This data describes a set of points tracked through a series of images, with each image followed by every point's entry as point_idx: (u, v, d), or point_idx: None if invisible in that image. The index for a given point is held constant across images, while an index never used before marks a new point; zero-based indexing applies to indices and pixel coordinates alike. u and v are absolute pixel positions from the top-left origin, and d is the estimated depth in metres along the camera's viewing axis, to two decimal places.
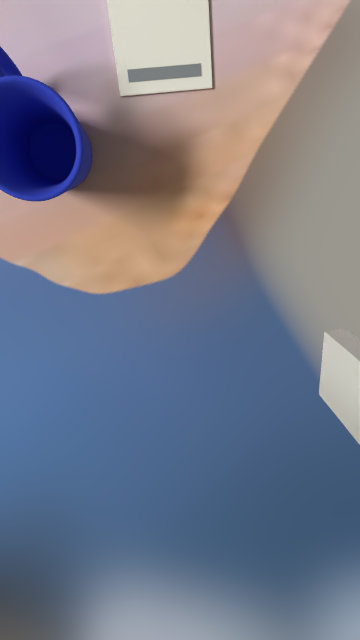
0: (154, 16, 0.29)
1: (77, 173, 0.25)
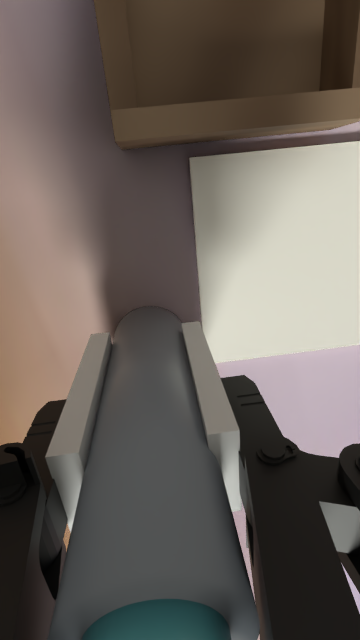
0: None
1: None
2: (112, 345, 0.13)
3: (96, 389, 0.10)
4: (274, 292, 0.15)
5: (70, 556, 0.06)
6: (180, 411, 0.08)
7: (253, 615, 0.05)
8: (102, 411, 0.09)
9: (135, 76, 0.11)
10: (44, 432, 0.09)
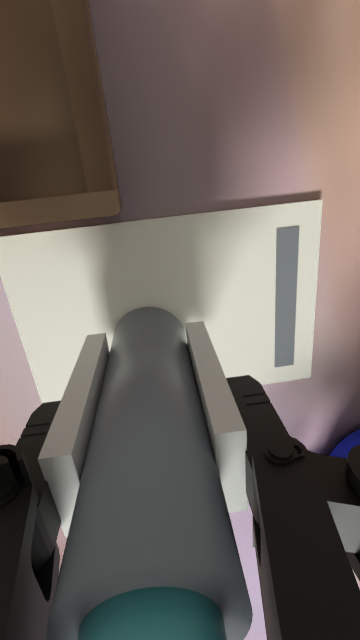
0: None
1: None
2: (111, 345, 0.14)
3: (90, 390, 0.10)
4: None
5: (69, 547, 0.06)
6: (176, 408, 0.08)
7: (245, 603, 0.05)
8: (101, 409, 0.09)
9: None
10: (38, 433, 0.09)
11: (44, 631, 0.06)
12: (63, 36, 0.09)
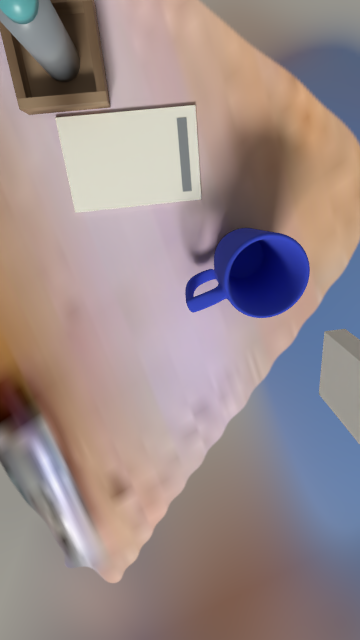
0: (145, 164, 0.35)
1: (293, 239, 0.30)
2: None
3: None
4: (100, 177, 0.35)
5: None
6: None
7: None
8: None
9: (30, 87, 0.31)
10: None
11: None
12: (89, 35, 0.28)
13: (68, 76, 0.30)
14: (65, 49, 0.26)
